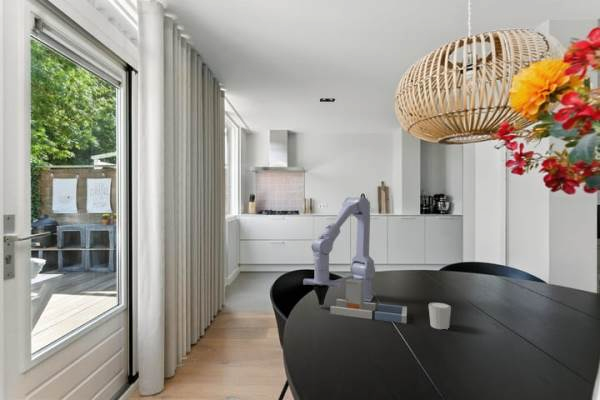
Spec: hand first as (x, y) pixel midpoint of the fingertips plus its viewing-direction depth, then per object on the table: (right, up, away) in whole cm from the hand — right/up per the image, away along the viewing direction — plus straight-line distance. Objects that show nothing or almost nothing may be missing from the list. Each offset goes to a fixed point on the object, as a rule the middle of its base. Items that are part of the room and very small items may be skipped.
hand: (321, 304), depth 122 cm
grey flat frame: (+17, -1, -6) cm, 18 cm away
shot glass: (+38, -2, -18) cm, 42 cm away
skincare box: (+12, -2, -4) cm, 13 cm away
